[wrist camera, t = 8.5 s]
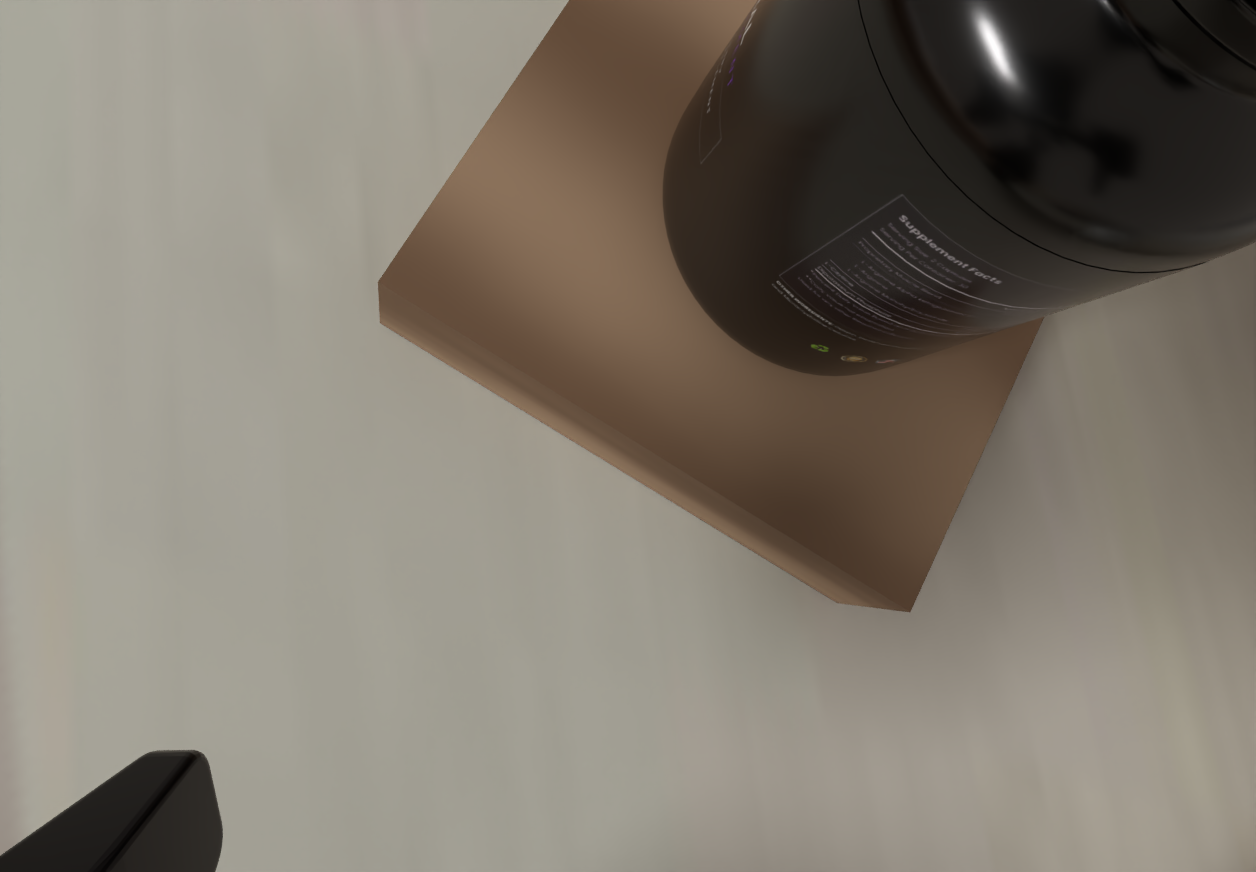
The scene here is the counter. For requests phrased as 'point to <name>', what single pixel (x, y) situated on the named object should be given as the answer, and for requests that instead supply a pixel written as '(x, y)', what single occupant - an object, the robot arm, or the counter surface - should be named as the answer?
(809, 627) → the counter surface
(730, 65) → the supplement bottle
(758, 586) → the counter surface
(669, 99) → the walnut plinth
